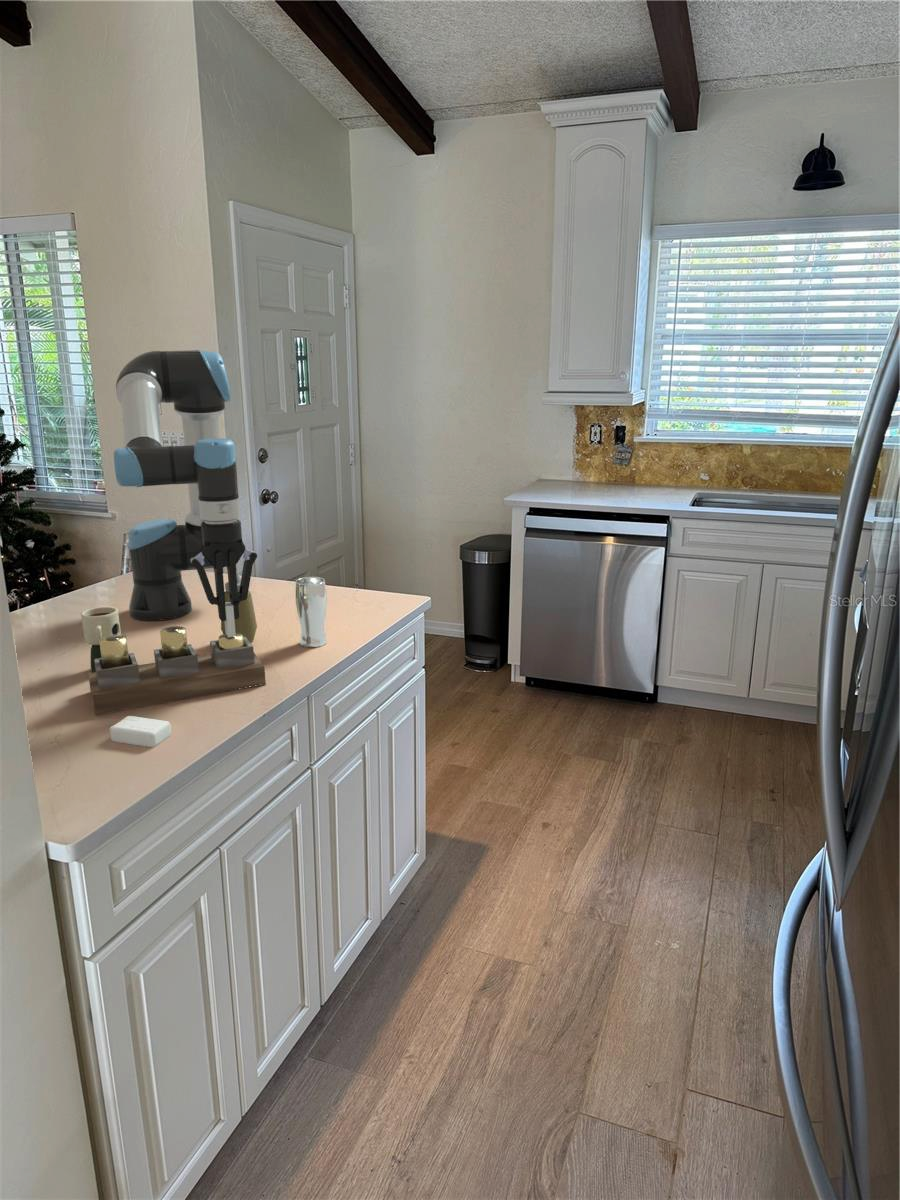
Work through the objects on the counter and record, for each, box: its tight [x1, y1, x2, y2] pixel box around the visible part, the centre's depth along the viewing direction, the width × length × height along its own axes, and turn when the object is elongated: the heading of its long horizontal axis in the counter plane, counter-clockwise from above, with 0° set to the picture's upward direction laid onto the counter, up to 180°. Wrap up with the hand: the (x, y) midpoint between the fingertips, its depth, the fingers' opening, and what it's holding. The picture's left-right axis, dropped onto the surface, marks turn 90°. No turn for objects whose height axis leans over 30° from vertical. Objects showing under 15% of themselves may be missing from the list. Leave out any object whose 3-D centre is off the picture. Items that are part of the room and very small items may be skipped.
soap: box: [109, 715, 172, 748], centre depth 144 cm, size 9×6×3 cm, turn 73°
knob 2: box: [218, 633, 244, 651], centre depth 168 cm, size 5×5×5 cm
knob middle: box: [159, 625, 188, 659], centre depth 162 cm, size 5×5×5 cm
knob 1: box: [99, 634, 129, 668], centre depth 158 cm, size 5×5×5 cm
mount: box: [87, 636, 267, 716], centre depth 164 cm, size 12×32×8 cm, turn 116°
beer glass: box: [294, 576, 328, 648], centre depth 188 cm, size 7×7×15 cm
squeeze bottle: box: [220, 566, 258, 644], centre depth 188 cm, size 8×8×18 cm
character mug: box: [80, 606, 122, 672], centre depth 173 cm, size 11×7×13 cm, turn 16°
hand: (230, 634), depth 167 cm, fingers closed
